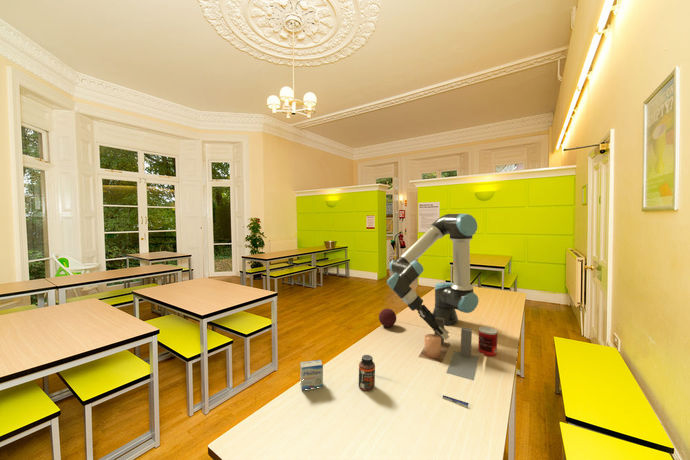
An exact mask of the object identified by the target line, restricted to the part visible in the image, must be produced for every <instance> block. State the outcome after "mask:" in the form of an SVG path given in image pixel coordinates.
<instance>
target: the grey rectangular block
mask: <svg viewBox="0 0 690 460" xmlns="http://www.w3.org/2000/svg"><path fill="white" fill-rule="evenodd" d="M460 330H461V331H460V337H461V338H460V351H457V350H454V352H453V355H452V356H451V359H450V361H449V364H448V367H447V370H446V373H445V374H449V375H452V376H456V377H459V378H463V379H467V380H470V381H474V380H475V376H476V372H477V367H478V362H479V356H478V355H475V354H472V341H473V338H472V336H473V335H472V334H473V328H469V327H465V326H464V327H463V326H462V327H461V329H460Z"/></svg>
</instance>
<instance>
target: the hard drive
mask: <svg viewBox="0 0 690 460" xmlns="http://www.w3.org/2000/svg"><path fill="white" fill-rule="evenodd" d="M442 400H445V401H447V402H450V403H452V404H455V405H459V406H462V407H464V408H466V409H468V407H469V405H470V403H469V402H466V401H463V400H460V399H457V398H453V397H450V396H447V395H443V394H442Z"/></svg>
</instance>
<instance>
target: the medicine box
mask: <svg viewBox="0 0 690 460" xmlns="http://www.w3.org/2000/svg"><path fill="white" fill-rule="evenodd" d="M299 363H300V364H299V367H300V371H299V372H300V374H299V377H300V378H299V381H301V383H300V390H301V389H302V390H305V389H311V388H316V389H318V388H317V387H322V388H323V387H324V365H323V362H322V359H317V360H309V361H307V360H306V361H301V362H299ZM303 379H304V380H303ZM302 380H303V381H302ZM302 390H301V391H302ZM311 390H312V389H311ZM305 391H306V390H305Z"/></svg>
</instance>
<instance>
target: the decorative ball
mask: <svg viewBox="0 0 690 460" xmlns="http://www.w3.org/2000/svg"><path fill="white" fill-rule="evenodd" d="M378 320H379V323H380V324H381V325H382V326H384V327H386V328H389V327H393V326H394V325H395V324H396V322H397V314H396V312H395V311H394V310H392V309H391V308H384V309H382V310H381V311H380V312H379V314H378Z"/></svg>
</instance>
